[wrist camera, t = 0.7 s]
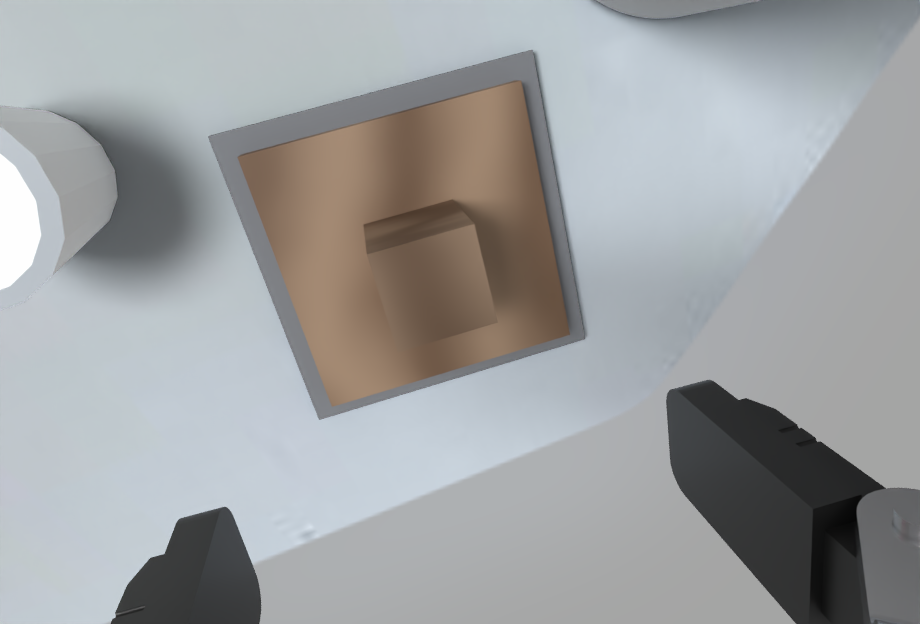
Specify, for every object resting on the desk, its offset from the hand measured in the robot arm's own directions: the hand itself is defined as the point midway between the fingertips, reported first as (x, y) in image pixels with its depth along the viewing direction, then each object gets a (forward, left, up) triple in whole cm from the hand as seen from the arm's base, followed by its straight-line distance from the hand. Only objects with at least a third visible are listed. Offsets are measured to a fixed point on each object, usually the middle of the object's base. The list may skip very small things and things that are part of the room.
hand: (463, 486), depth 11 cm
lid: (-1, +1, -18) cm, 18 cm away
